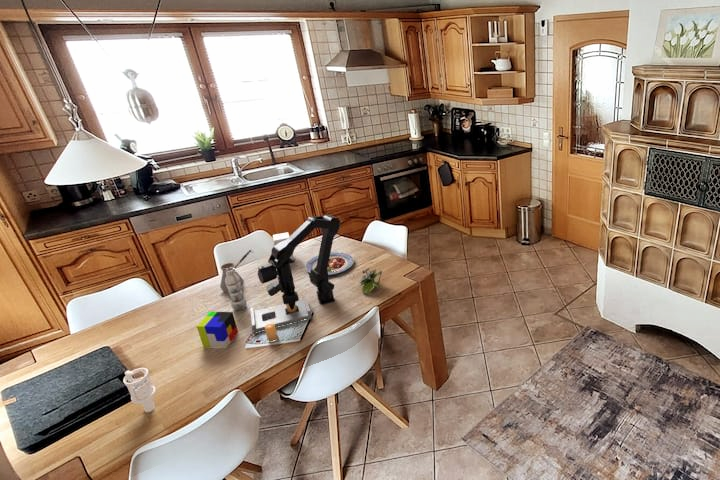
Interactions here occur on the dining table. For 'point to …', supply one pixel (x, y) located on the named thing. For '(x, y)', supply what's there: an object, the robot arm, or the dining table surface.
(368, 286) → the green leafy clump
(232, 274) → the plastic bottle
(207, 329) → the puzzle toy
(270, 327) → the orange rounded plug
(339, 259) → the ceramic plate
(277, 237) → the supplement box
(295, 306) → the orange tapered peg
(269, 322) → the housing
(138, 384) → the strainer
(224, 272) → the coffee pot
